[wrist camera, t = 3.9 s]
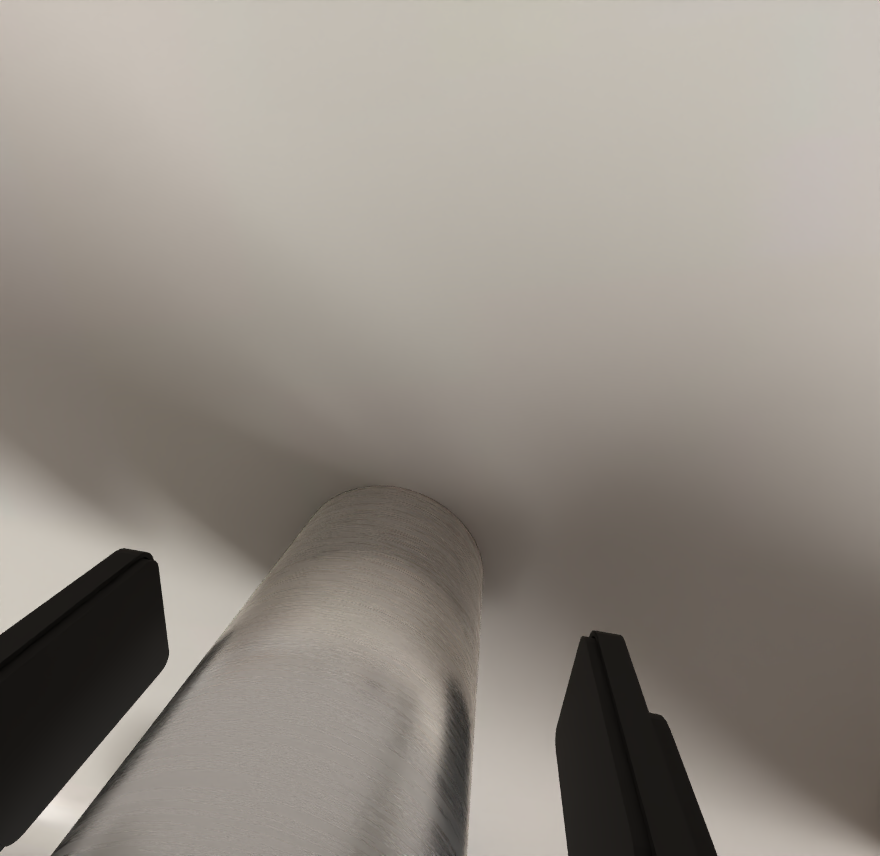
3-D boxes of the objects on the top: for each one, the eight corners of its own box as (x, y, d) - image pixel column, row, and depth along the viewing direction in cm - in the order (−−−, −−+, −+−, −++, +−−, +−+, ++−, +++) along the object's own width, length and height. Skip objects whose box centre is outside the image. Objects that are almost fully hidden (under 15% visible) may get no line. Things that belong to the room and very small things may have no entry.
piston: (299, 472, 11) (-160, 928, 3) (496, 502, 11) (482, 1102, 3) (299, 627, 13) (-10, 1172, 5) (470, 658, 13) (418, 1306, 5)
